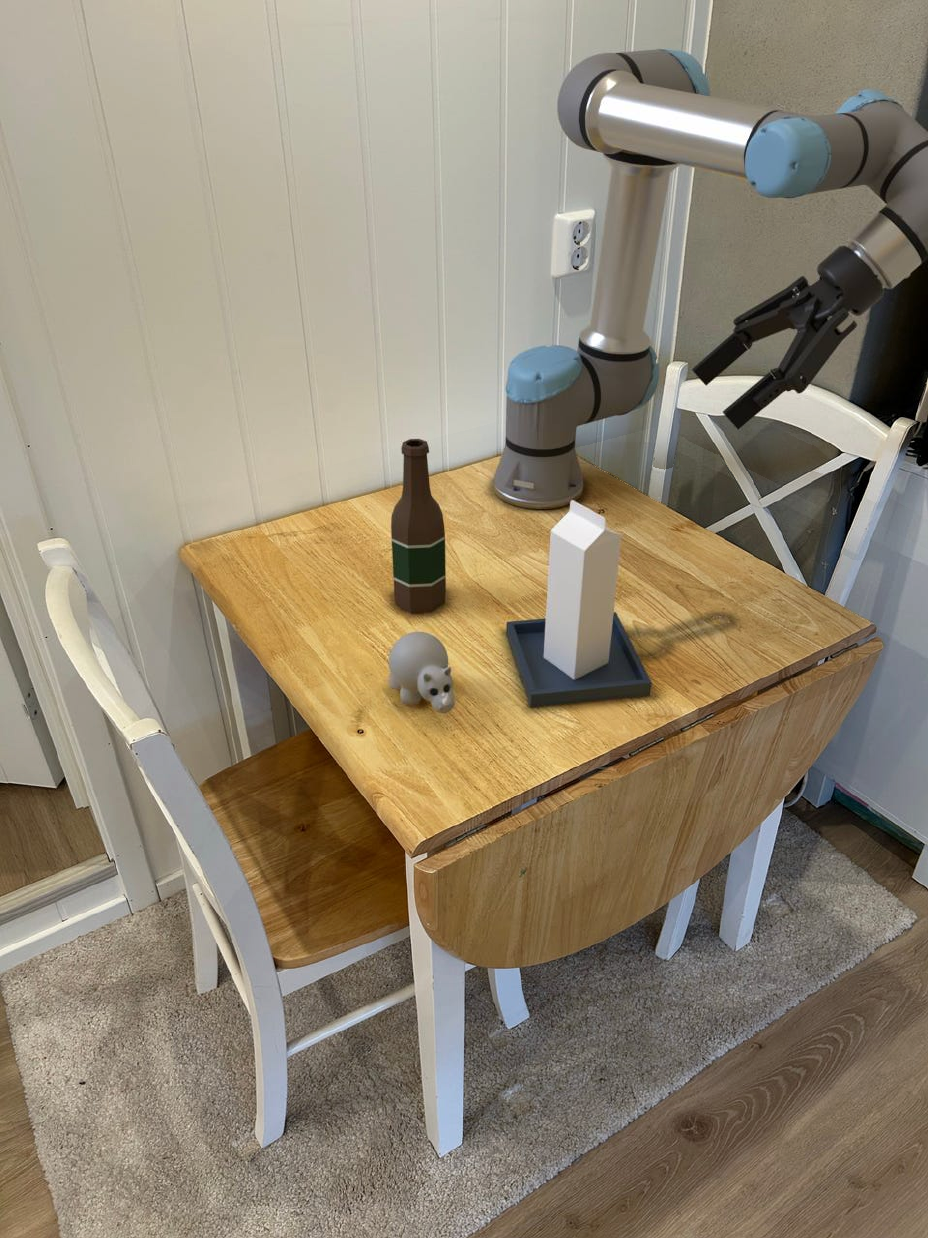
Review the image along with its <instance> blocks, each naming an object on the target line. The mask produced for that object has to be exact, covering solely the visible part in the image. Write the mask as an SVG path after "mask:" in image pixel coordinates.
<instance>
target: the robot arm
mask: <svg viewBox="0 0 928 1238" xmlns="http://www.w3.org/2000/svg"><path fill="white" fill-rule="evenodd" d="M707 77H708V76H707V75H706V73H704V70H703V67H702V65H701V63H700V62H699V61H698V60H697V59H696V58H695V57H694V56H693V55H692V54H690V53H688V52H686V51H682V50H677V49H666V48H664V49H662V48H656V49H646V50H645V49H644V50H633V51H621V52H602V53H597V54H594V55H591V56H588V57H587V58H585V59H583V60H582V61H580V62H579V63H577V64H576V65H574V67H572V69H571V70H570V71H569V72H568V74H567V75H566V76H565V78H564V79H563V81H562V83H561V85H560V89H559V91H558V96H557V102H556V103H557V105H556V106H557V107H556V108H557V109H556V111H557V118H558V121H559V124H560V127H561V129H562V132H563V133H564V134H565V136H566V137H567V138H568V139H569V140H570V141H571V142H572V143H573V144H575V145H576V146H577V147H579V148H582V149H585V150H589V151H594V152H597V153H601V154H602V156H603V158H604V160H605V161H606V162H607V163H608V164H609V166H610V174H609V183H608V189H607V190H608V191H607V198H606V204H605V213H604V220H603V226H602V235H601V241H600V250H599V257H598V264H597V272H596V280H595V285H594V294H593V302H592V310H591V315H590V316H591V317H590V323H589V324H587V325H586V326H584V328H583V329H581V330H580V332H579V336H578V345H577V350H576V349H574V348H572V347H569V346H565V345H556V344H552V345H550V346H547V345H540V346H536V347H535V346H534V347H532V348H529V349H526V350H524V351H521V352H520V353H519V354H517V355H516V356H515V357H514V358H513V359H512V360H511V361H510V363H509V366H508V368H507V378H506V382H505V394H506V397H505V398H506V400H505V401H506V403H505V404H506V405H505V440H504V441H505V444H504V448H503V451H502V452H501V453H502V454H501V457H500V459H499V462H498V464H497V467H496V469H495V471H494V476H493V492H494V494H495V495H496V496H497V497H498V498H499V499H500V500H502V501H503V502H505V503H507V504H510V505H513V506H515V507H518V508H523V509H531V510H551V509H558V508H562V507H565V506H568V505H569V506H570V502H571V500H574V501H575V502H577V501H578V500H579V499H580V498H581V496H582V495H583V492H584V476H583V474H582V473H583V472H582V470H581V465H580V463H579V459H578V454H577V451H576V437H577V427H579V426H583V425H587V424H590V423H593V422H597V421H601V420H605V419H608V418H612V417H615V416H616V417H617V416H623V415H627V414H629V413H631V412H633V411H636V410H638V409H640V408H642V407H644V406H645V405H646V404H648V403H649V402H650V400H652V398H653V396H654V395H655V393H656V391H657V388H658V385H659V381H660V371H661V370H660V363H657V362H656V361H657V359H658V356H657V353H656V351H655V349H654V348H653V347H652V345H651V343H652V342H651V338H650V337H649V335H648V334H647V333H646V331H645V330H644V327H645V321H646V316H647V310H648V303H649V299H650V292H651V287H652V281H653V275H654V268H655V263H656V258H657V251H658V246H659V241H660V234H661V228H662V222H663V218H664V217H663V216H664V211H665V205H666V198H667V193H668V187H669V183H670V175H671V173H672V172H673V171H674V170H676V169H677V168H678V167H679V166H681V165H683V166H687V167H691V168H694V169H698V170H702V171H706V172H710V173H714V174H716V175H717V174H718V175H720V176H724V177H729V178H733V179H737V180H741V181H743V182H748V183H749V185H750V186H752V188H753V189H754V190H755V191H756V193H757V194H758V195H760V196H762V197H764V198H768V199H779V198H781V199H795V198H799V197H803V196H806V195H807V196H808V195H811V194H818V193H822V192H829V191H835V190H841V189H847V188H854V187H861V186H866V187H868V188H869V190H871V191H872V192H873V193H874V194H875V195H876V196H877V197H878V198H879V199H880V200H881V201H883V202H884V204H885V206H883V208H881V209H880V210H879V211H878V212H876V213H875V214H873V216H871V217H870V218H869V219H868V220H867V221H865V222H864V223H863V224H862V226H861V225H860V227H859V228H857V230H856V231H855V232H853V233H852V234H851V235H850V236H849V237H848V238H847V244H848V245H839V246H838V247H836V249H834V250H833V251H832V252H831V253H830V254H829V255H828V256H827V257H825V258H824V259H823V260H822V261H821V262H820V263H819V264H818V265H817V267H816V272H817V274H818V277H819V279H818V280H817V281H815V282H814V283H813V284H811V283H810V282H809V280H808V279H807V278H806V276H804V275H801V276H800V277H798V278H797V279H795V280H794V281H793V282H792V283H791V284H789V285H788V286H787V287H785V288H784V289H782V290H781V291H779V292H777V293H775V294H774V295H772V296H770V297H769V298H767V299H765V300H763V301H762V302H760V303H759V304H757V305H755V306H753V307H752V308H750V309H748V310H747V311H745V312H744V313H741V314H740V315H738V316H737V317H735V318H734V320H733V322H732V323H733V325H734V328H733V329H732V333H731V334H730V335H729V336H728V337H727V338H725V339H724V340H723V341H722V342H721V343H720V344H719V345H718V346H717V347H715V348H714V349H713V350H712V351H711V352H710V353H709V354H707V355H706V356H705V357H704V358H703V359H702V360H701V361H699V362H698V363H697V364H696V365H694V367H693V368H692V369H691V371H692V372H693V374H695V375H696V376H697V378H698V379H699V380H700V381H701V382H702V384H704V385H705V386H706V387H708V385H709V384H710V383H712V381H714V380H715V379H716V378H717V377H718V376H719V375H721V374H722V373H724V371H725V370H727V368H729V367H730V366H731V365H732V364H734V363H735V362H736V361H737V360H738V359H739V358H740V357H741V356H743V355H744V354H745V353H746V352H747V351H748V350H751V349H752V346H753V343H755V342H758V341H761V340H763V339H765V338H768V337H771V336H773V335H775V334H777V333H781V332H782V331H785V330H788V329H790V330H796V334H795V336H794V338H793V340H792V341H791V343H790V345H789V347H788V349H787V350H786V353H785V354H784V356H783V358H782V360H781V361H780V363H779V365H778V367H775V368H772V369H770V371H769V372H767V373H766V374H765V375H764V376H763V377H761V378H760V379H759V380H758V381H757V382H755V383H754V384H753V385H752V386H751V387H750V388H748V389H747V390H746V391H745V392H744V393H743V394H741V395H740V396H739V397H738V398H737V399H735V400H734V401H733V402H732V403H731V404H729V405H728V406H727V407H726V408H725V409H723V411H722V414H723V415H724V416H725V417H726V418H727V419H728V421H730V423H731V424H732V425H733V426H734V427H735V428H736V429H737V430H740V429H741V428H742V427H743V426H745V425H746V424H747V423H748V422H749V421H750V420H752V419H753V418H754V417H755V416H756V415H758V414H759V413H760V412H761V411H762V410H764V409H765V408H767V406H769V405H770V404H771V403H772V402H774V401H775V400H776V399H777V398H778V397H780V396H781V395H782V394H783V393H785V392H791V391H795V393H796V394H799V395H800V394H802V393H803V392H805V391H806V389H807V388H808V387H809V385H810V384H811V383H812V381H813V380H814V379H815V378H816V376H817V375H818V373H819V372H820V371H821V369H822V368H823V367H824V366H825V364H826V363H827V361H829V359H830V358H831V356H832V355H833V354H834V352H835V351H836V350H837V348H838V347H839V346H840V344H841V343H842V342H843V341H844V340H845V338H847V337H848V336H849V335H850V334H851V333H852V332H853V331H854V330H855V329H856V328H857V326H858V323H857V321H855V319H854V318H853V317H852V315H853V316H856V317H859V316H862V315H863V314H864V313H866V312H867V311H868V310H870V309H871V308H872V307H873V306H874V305H875V304H877V302H879V301H880V300H881V299H883V298H884V294H885V289H887V290H892V289H894V288H895V287H896V286H897V285H898V284H900V283H901V282H902V281H903V280H904V279H908V278H909V277H910V276H911V273H913V271H915V270H916V269H917V268H918V267H919V266H921V265H922V264H924V263H925V262H926V261H927V260H928V130H927V129H925V128H924V127H923V126H922V125H921V124H920V123H919V122H918V121H917V120H916V119H914V117H913V116H911V115H910V114H909V112H907V111H906V110H905V108H904V107H903V105H902V104H899V102H898V101H897V100H895V99H892V98H891V97H889V96H888V95H887V94H885V93H884V92H883V91H881V90H879V89H876V88H867V89H863V90H861V91H860V92H859V93H858V94H857V95H856V96H855V95H854V96H851V97H850V98H848V99H847V100H846V101H845V102H843V104H842V105H841V106H840V107H839V108H838V109H837V110H836V112H835V113H833V114H821V115H820V114H819V115H818V114H817V115H813V114H804V113H799V112H794V111H788V110H782V109H778V108H773V107H767V106H762V105H756V104H752V103H746V102H741V101H735V100H731V99H725V98H719V97H715V96H714V97H713V96H711V90H710V89H711V88H710V84H709V81H708V78H707ZM850 313H851V314H850Z"/></svg>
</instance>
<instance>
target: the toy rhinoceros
mask: <svg viewBox="0 0 928 1238" xmlns="http://www.w3.org/2000/svg"><path fill="white" fill-rule="evenodd" d="M388 669H389V672H390V673H389V676H388V685H389V687H390V688H391V689H392V690H395V691H399V697H400V702H401V703H402V704H403V705H406V706H411V707H412V706H416V705H418V704H419V703H420V702H421V700H422V699H424V700H426V701H428V702H429V703H431V706H432V708H433V710H434V711H435V712H437V713H439V714H445V715H446V714H448V713H450V712H451V711H452V710H453V709H454V707H455V705H456V699H455V696H454V695H455V694H454V679H453V676H452V675H451V672H452V668H451V666H449V656H448V652H447V649H446V647H445V645H444V644H443V642H441V640H440V639H439V638H437V637H436V636H435V635H433V634H432V633H428V632H425V631H413V632H408V633H406V634H404V635H402V636H401V637H399V638H398V639H396V641H395V642H394V644H393V645H392V647H391V649H390V651H389V653H388Z"/></svg>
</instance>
